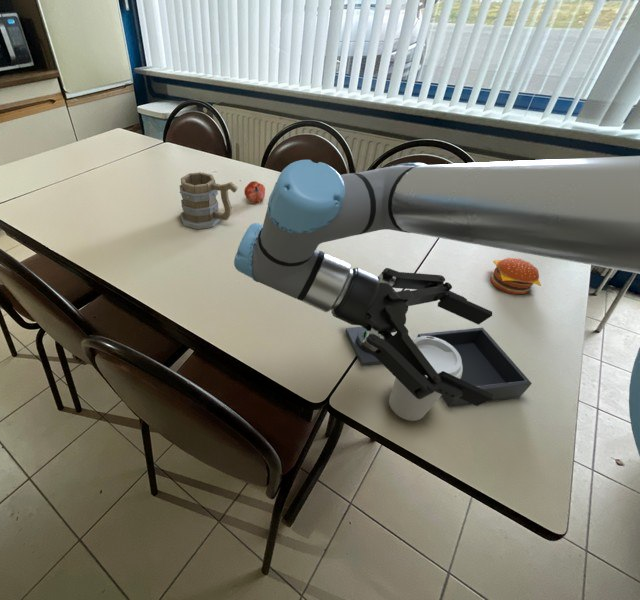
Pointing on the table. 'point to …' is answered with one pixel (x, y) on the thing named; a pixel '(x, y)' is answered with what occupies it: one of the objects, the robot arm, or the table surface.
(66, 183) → the table surface
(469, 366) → the basket
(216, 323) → the table surface
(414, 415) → the coffee cup
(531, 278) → the hamburger
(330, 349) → the table surface
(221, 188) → the tankard
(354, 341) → the panel
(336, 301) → the robot arm
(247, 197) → the pomegranate
